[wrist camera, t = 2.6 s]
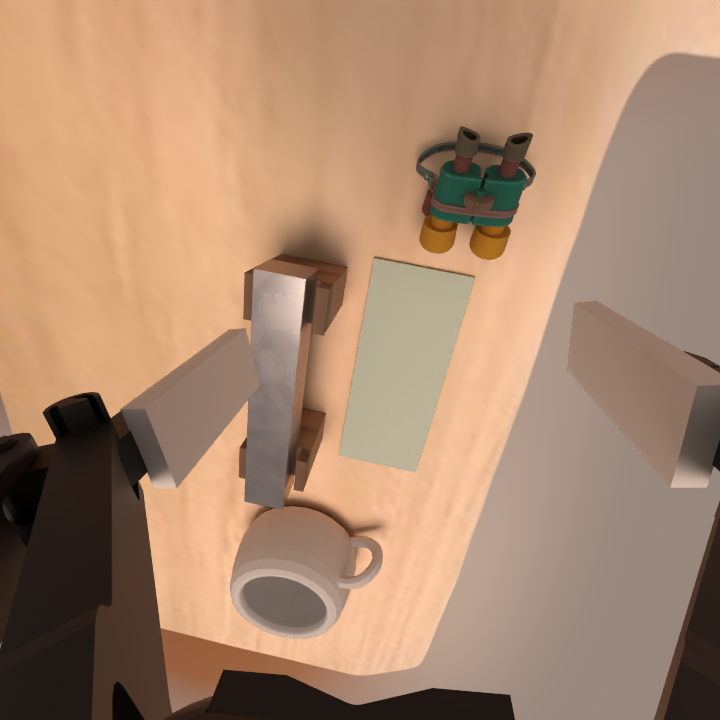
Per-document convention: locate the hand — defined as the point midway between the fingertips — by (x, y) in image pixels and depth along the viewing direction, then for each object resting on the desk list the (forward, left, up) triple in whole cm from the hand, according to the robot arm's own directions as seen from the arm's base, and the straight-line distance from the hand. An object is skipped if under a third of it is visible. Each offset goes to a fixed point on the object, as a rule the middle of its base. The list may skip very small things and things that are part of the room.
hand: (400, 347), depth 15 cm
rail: (-9, -13, -17) cm, 23 cm away
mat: (+2, -13, -24) cm, 27 cm away
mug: (-4, -42, -24) cm, 49 cm away
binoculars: (+4, +6, -24) cm, 25 cm away
